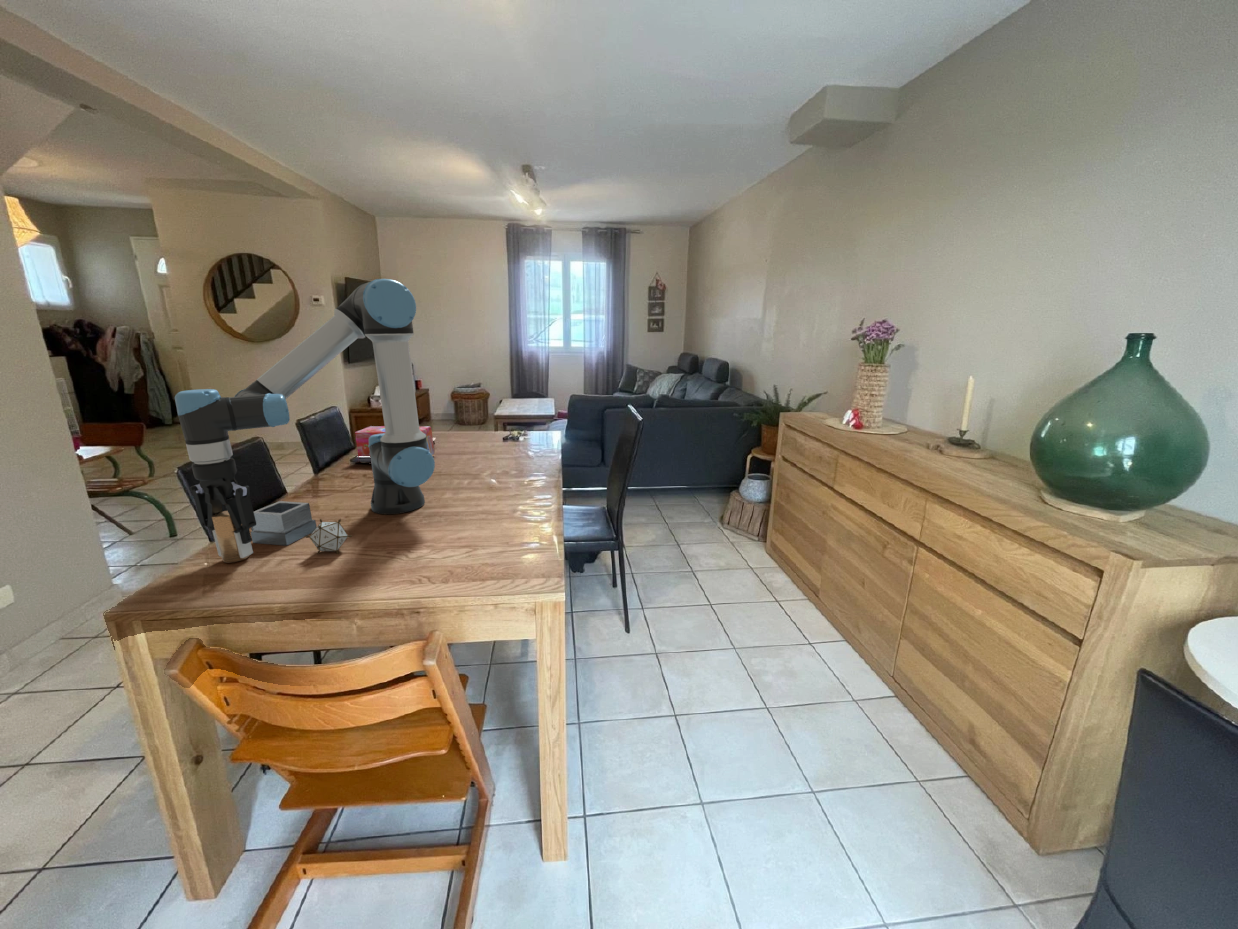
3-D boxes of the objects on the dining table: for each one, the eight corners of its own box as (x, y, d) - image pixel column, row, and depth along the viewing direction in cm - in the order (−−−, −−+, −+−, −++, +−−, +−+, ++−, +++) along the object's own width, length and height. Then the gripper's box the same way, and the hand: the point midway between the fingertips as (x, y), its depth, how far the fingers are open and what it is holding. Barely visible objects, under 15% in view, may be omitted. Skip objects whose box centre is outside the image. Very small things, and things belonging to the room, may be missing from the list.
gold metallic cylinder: (255, 553, 117) (245, 510, 114) (236, 563, 112) (225, 519, 109) (237, 551, 118) (227, 509, 115) (216, 561, 113) (205, 517, 110)
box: (357, 463, 198) (352, 431, 195) (374, 456, 211) (370, 425, 207) (422, 464, 197) (418, 431, 193) (435, 456, 209) (432, 425, 206)
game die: (332, 568, 118) (311, 549, 110) (313, 549, 122) (291, 529, 114) (364, 542, 123) (345, 522, 115) (344, 524, 126) (325, 504, 118)
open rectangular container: (317, 530, 132) (312, 502, 130) (287, 545, 122) (281, 516, 120) (274, 527, 134) (268, 499, 132) (241, 541, 125) (234, 512, 122)
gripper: (262, 456, 110) (282, 550, 117) (195, 454, 113) (218, 545, 120) (231, 465, 103) (255, 564, 110) (160, 462, 106) (187, 559, 112)
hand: (236, 554), depth 115 cm, fingers closed on gold metallic cylinder, 5 cm apart
